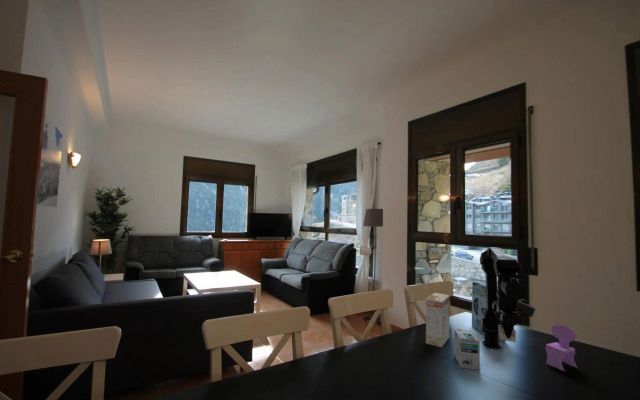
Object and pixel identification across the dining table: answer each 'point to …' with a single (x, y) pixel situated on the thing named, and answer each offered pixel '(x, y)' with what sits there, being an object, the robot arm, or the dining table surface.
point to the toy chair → (561, 347)
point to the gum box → (479, 304)
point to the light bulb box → (467, 349)
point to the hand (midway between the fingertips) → (506, 335)
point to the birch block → (503, 336)
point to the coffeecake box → (437, 319)
